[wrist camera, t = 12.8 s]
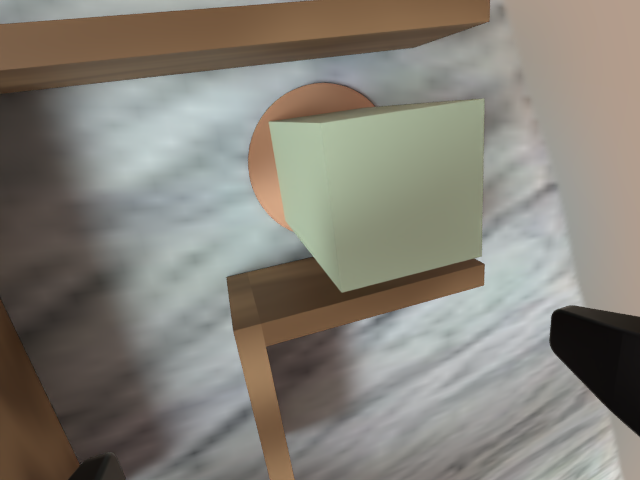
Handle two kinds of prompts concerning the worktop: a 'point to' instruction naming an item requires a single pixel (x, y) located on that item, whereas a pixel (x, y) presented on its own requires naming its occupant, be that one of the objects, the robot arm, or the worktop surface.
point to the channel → (277, 281)
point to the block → (384, 187)
